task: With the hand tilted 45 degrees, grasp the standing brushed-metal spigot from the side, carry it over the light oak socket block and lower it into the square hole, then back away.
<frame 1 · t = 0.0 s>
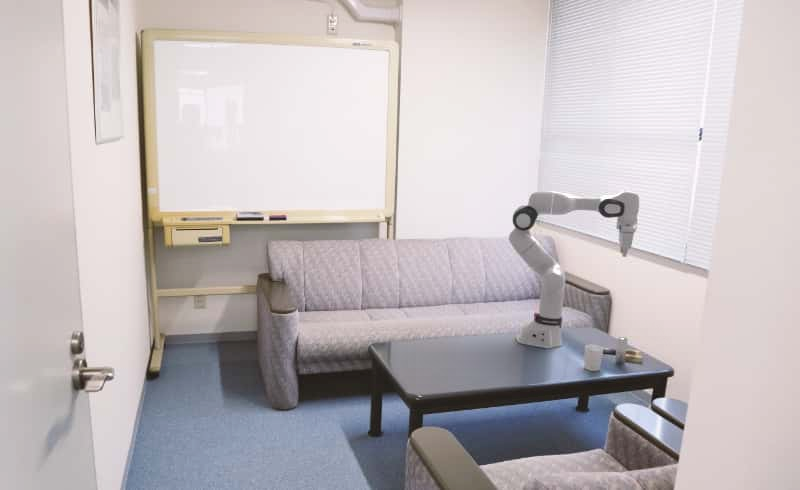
hand: (623, 254, 286), 48 cm above the table, tool pointing down, fingers open, 8 cm apart
socket block: (629, 357, 287), on the table
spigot: (619, 363, 280), on the table
white cup: (591, 369, 271), on the table
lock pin: (606, 353, 292), on the table
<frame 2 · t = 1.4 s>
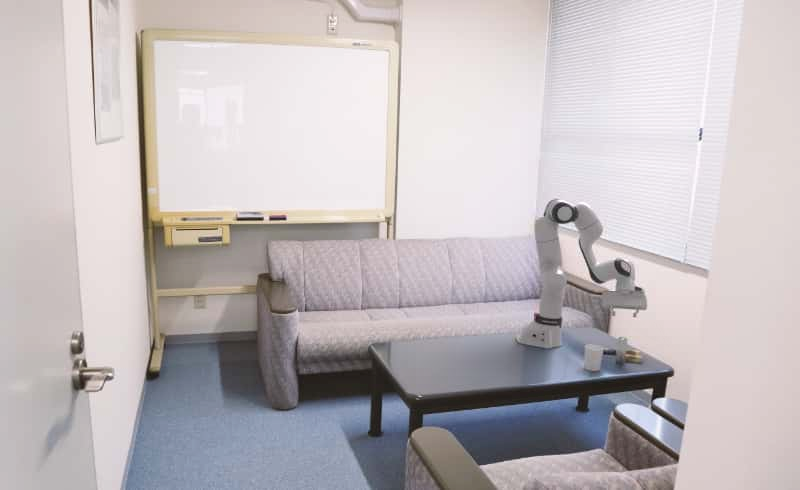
hand: (624, 316, 287), 19 cm above the table, tool tilted 45°, fingers open, 8 cm apart
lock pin: (606, 353, 292), on the table, tilted 18°
everything else where it was.
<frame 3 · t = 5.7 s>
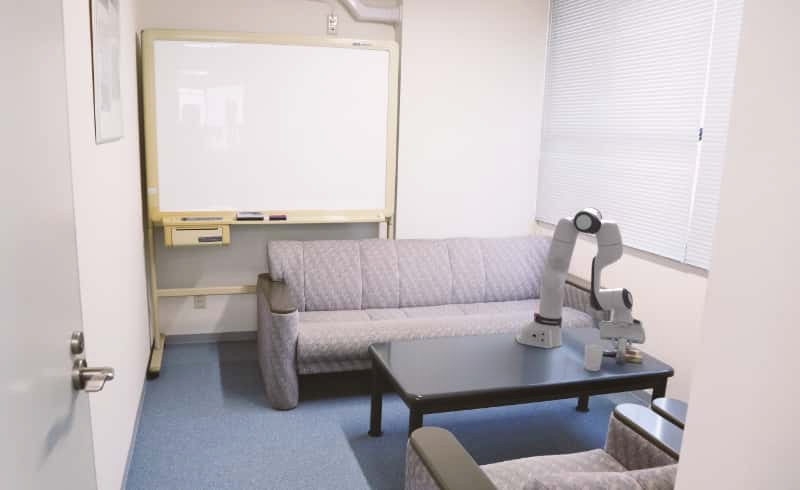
hand: (621, 349, 278), 7 cm above the table, tool tilted 45°, fingers closed on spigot, 4 cm apart
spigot: (619, 363, 280), on the table, touching gripper
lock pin: (607, 350, 289), point 2 cm above the table, tilted 174°
everything else where it was.
when the fingers open (8 cm above the table, at t = 10.0 s): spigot drops 1 cm, resting in socket block.
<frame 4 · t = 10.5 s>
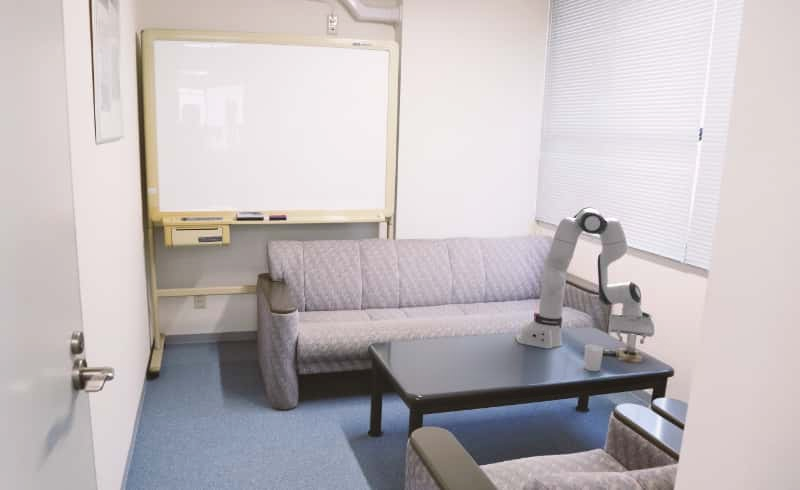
hand: (631, 341, 285), 8 cm above the table, tool tilted 45°, fingers open, 8 cm apart
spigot: (629, 357, 287), resting in socket block
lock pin: (607, 350, 290), point 2 cm above the table, tilted 142°
everything else where it was.
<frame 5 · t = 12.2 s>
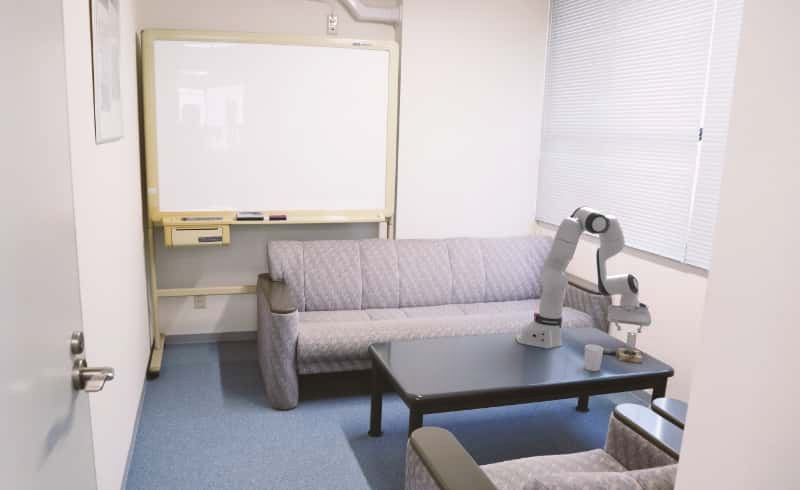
hand: (629, 331, 297), 9 cm above the table, tool tilted 45°, fingers open, 8 cm apart
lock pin: (606, 351, 292), point 1 cm above the table, tilted 73°
everything else where it was.
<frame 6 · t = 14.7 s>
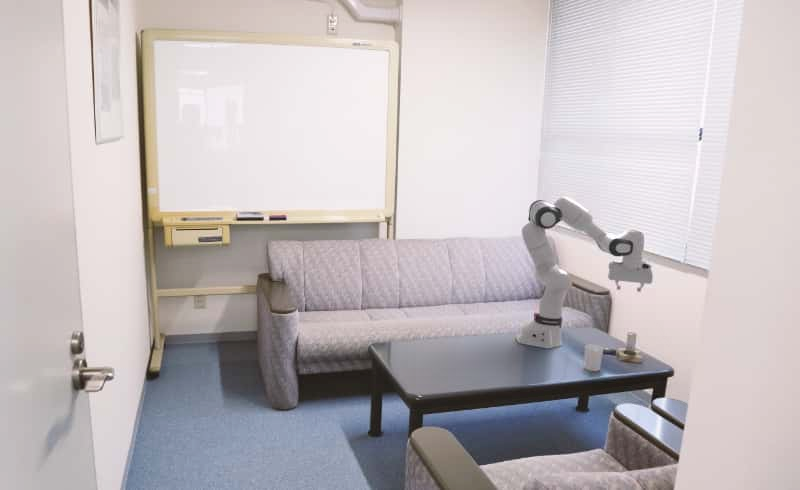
hand: (628, 290, 296), 29 cm above the table, tool pointing down, fingers open, 8 cm apart
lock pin: (606, 353, 292), on the table, tilted 8°
everything else where it was.
at the end: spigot 0.0 cm off-centre on the socket block, point 0.0 cm above the socket block's base; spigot tilted 0°; the gripper is holding nothing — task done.
